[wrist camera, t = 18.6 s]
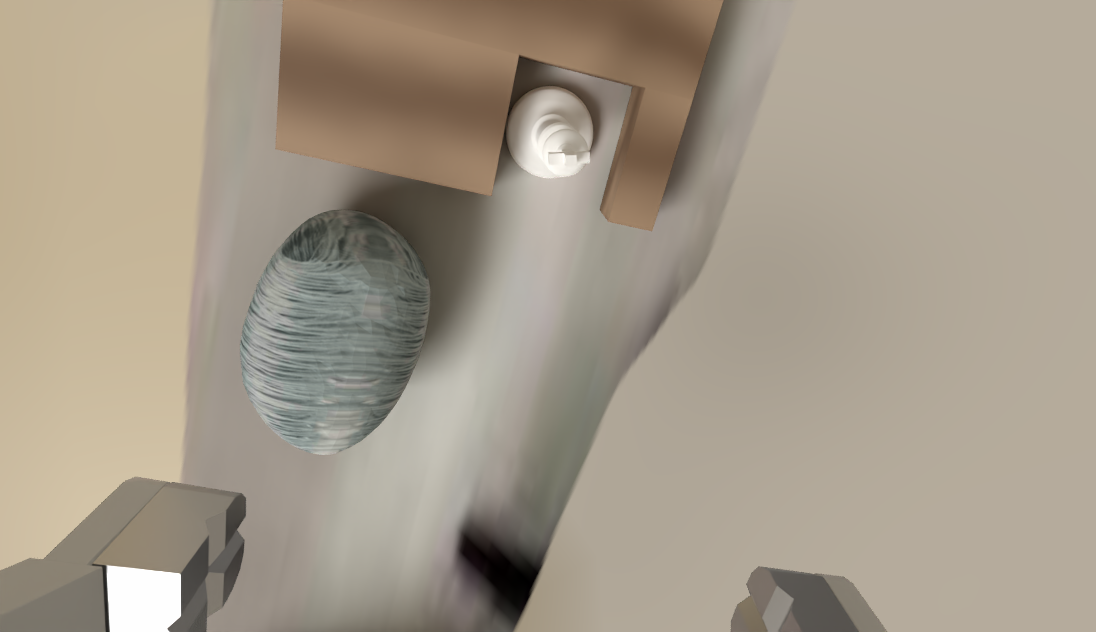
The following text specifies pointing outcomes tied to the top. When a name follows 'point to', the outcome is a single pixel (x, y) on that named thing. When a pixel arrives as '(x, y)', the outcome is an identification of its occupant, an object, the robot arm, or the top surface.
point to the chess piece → (550, 132)
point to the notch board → (484, 83)
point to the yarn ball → (334, 330)
